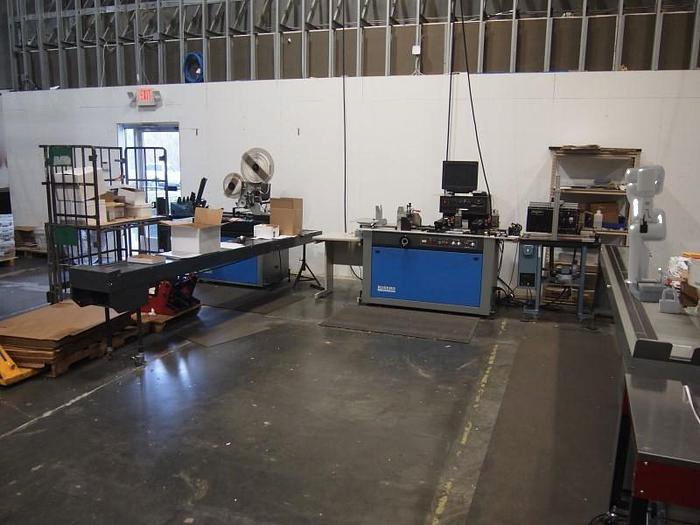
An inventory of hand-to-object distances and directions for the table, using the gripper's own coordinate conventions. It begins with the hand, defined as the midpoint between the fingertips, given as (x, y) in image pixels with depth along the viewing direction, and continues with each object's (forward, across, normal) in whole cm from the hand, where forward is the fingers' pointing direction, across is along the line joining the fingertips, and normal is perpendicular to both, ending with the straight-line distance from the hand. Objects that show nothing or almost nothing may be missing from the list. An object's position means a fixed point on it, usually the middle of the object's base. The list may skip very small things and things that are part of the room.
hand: (643, 232), depth 258 cm
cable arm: (+28, -7, -10) cm, 31 cm away
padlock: (+29, -42, -3) cm, 51 cm away
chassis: (+29, -10, -2) cm, 31 cm away
